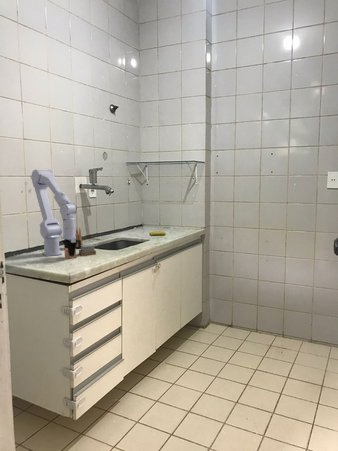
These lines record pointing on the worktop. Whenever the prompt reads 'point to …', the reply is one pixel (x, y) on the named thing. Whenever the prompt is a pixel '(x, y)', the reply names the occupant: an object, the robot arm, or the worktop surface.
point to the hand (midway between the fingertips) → (70, 254)
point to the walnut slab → (87, 253)
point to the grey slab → (87, 247)
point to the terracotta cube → (68, 254)
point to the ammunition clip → (78, 239)
